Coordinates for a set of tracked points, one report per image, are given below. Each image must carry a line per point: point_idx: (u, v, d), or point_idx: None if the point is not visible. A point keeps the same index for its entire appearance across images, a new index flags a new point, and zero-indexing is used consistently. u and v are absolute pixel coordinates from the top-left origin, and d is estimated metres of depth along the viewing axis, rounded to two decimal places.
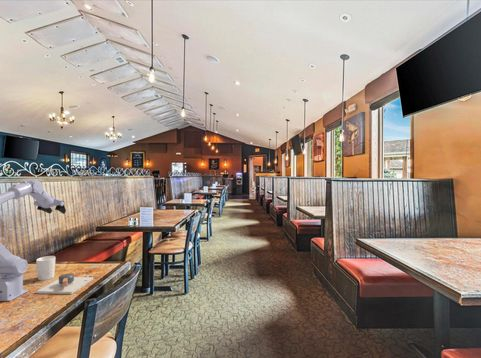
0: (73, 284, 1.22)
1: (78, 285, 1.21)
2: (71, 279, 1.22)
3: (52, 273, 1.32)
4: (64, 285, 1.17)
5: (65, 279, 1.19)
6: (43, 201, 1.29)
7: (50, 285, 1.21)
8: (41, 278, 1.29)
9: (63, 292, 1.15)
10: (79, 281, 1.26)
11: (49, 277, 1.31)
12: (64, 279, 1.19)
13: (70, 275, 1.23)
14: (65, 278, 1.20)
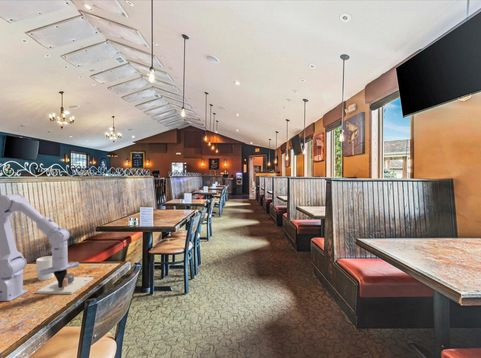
0: (73, 284, 1.22)
1: (78, 285, 1.21)
2: (71, 279, 1.22)
3: (52, 273, 1.32)
4: (64, 285, 1.17)
5: (65, 279, 1.19)
6: None
7: (50, 285, 1.21)
8: (41, 278, 1.29)
9: (63, 292, 1.15)
10: (79, 281, 1.26)
11: (49, 277, 1.31)
12: (64, 279, 1.19)
13: (70, 275, 1.24)
14: (65, 278, 1.20)
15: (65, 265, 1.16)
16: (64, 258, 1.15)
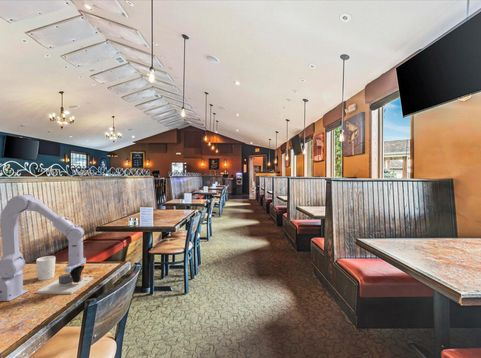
0: (73, 284, 1.22)
1: (78, 285, 1.21)
2: None
3: (52, 273, 1.32)
4: (81, 279, 1.23)
5: None
6: None
7: (50, 285, 1.21)
8: (41, 278, 1.29)
9: (63, 292, 1.15)
10: None
11: (49, 277, 1.31)
12: None
13: (69, 274, 1.25)
14: None
15: (83, 260, 1.23)
16: None
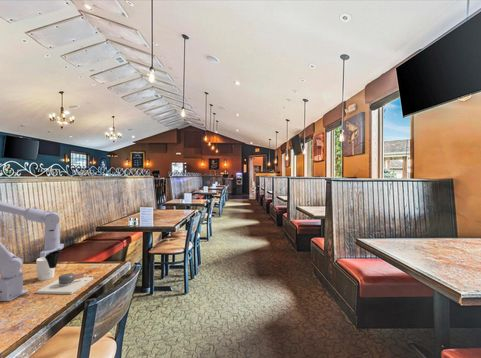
0: (73, 284, 1.22)
1: (78, 285, 1.21)
2: None
3: (52, 273, 1.32)
4: None
5: (78, 273, 1.26)
6: None
7: (50, 285, 1.21)
8: (41, 278, 1.29)
9: (63, 292, 1.15)
10: (79, 281, 1.26)
11: (49, 277, 1.31)
12: (78, 273, 1.26)
13: (66, 274, 1.24)
14: (75, 273, 1.25)
15: (59, 245, 1.22)
16: (59, 238, 1.22)
